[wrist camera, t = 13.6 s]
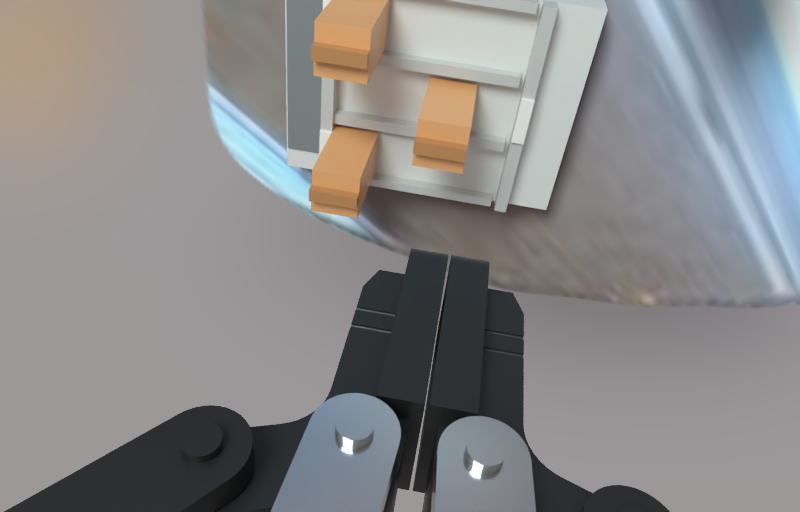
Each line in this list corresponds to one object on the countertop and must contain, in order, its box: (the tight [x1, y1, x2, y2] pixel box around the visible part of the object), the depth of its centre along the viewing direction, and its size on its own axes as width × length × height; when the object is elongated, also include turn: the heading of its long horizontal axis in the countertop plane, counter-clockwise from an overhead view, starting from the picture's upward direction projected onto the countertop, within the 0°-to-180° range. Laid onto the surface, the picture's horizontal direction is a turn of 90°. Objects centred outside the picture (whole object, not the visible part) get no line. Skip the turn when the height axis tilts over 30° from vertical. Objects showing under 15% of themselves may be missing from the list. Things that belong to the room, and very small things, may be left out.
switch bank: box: [285, 0, 608, 212], centre depth 41 cm, size 19×14×3 cm
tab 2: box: [309, 126, 378, 218], centre depth 41 cm, size 3×3×7 cm
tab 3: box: [412, 77, 477, 174], centre depth 38 cm, size 3×3×7 cm
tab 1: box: [311, 0, 390, 85], centre depth 35 cm, size 3×3×7 cm
